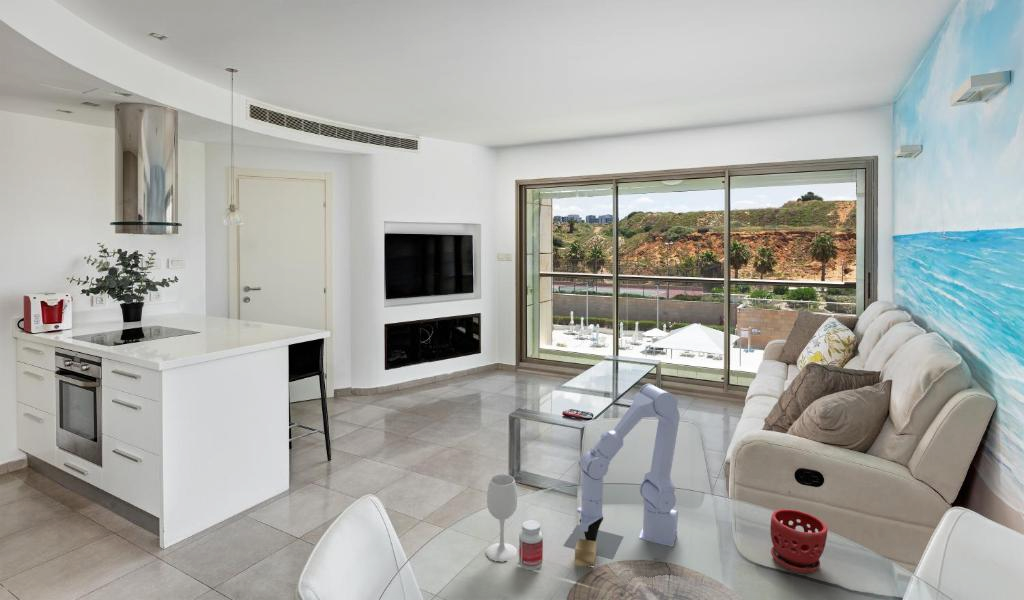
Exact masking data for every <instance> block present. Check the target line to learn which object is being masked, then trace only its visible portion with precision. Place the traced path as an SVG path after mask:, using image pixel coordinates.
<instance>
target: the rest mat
mask: <svg viewBox="0 0 1024 600" xmlns="http://www.w3.org/2000/svg"><path fill="white" fill-rule="evenodd" d="M572 532H573V533H572ZM572 532H571V533H572V534H571V533H570V535H569V536H568V538H567V540H566V541H564V544H563V545H562V547H565V548H570V549H573V550H575V547H576V544H577V540H578V539H584V540H586V538H585V533H584V531H582V530H580V524H576V526H575V527H574V528H573V530H572ZM624 538H625V537H624V535H619V534H616V533H611V532H607V531H604V530H598V534H597V538H596V556H600V557H602V558H605V559H610V560H613V559H614V557H616V556H615V555H616V553H617V551H618V549H619V547H620V545H621V544H622V541H623V540H624Z"/></svg>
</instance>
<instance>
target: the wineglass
mask: <svg viewBox="0 0 1024 600" xmlns="http://www.w3.org/2000/svg"><path fill="white" fill-rule="evenodd" d="M487 487H488V488H487V492H486V494H487V495H486V505H487V509H488V512H489V513H490V514H491V516H492V517H493V518H494V519H497V520H498V521H499V530H500V532H499V533H500V534H499V542H497V543H496V542H495V543H493V544H491V545H489V546H490V547H489V546H488V547H487V548H488V549H486V550H485V554H486V557H487V556H488V557H489V558H488V557H487V558H488V560H491V559H492V560H491V561H493V560H494V561H493V562H496V561H506V560H507V561H510V560H512V559H514V558H516V556H517V554H518V550H517V548H516V546H514V545H512V544H510V543H507V542H505V538H504V537H505V535H504V533H505V532H504V530H505V529H504V528H505V521H506V520H507V519H510V517H512V516H513V515H514V513H515V512H516V510H517V507H518V490H517V483H516V480H515V478H514V477H513V476H512V475H509V474H504V473H503V474H502V473H501V474H495V475H493V476H492V477H491V478H490V479H489V482H488V486H487Z"/></svg>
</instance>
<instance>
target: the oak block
mask: <svg viewBox="0 0 1024 600" xmlns="http://www.w3.org/2000/svg"><path fill="white" fill-rule="evenodd" d="M596 559H597V555H596V541H590V540H584V539H578V540H577V544H576V547H575V549H574V566H577V567H583V566H588V567H587V568H589V566H590V567H591V566H594V567H595V565H596V564H595V563H596ZM594 564H595V565H594Z"/></svg>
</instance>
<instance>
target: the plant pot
mask: <svg viewBox="0 0 1024 600" xmlns="http://www.w3.org/2000/svg"><path fill="white" fill-rule="evenodd" d="M797 520H799V522H798V521H797ZM781 521H782V522H781ZM790 521H791V522H792V524H790V523H789V522H790ZM808 525H809V526H808ZM797 527H801V528H802V529H803V531H801V530H797ZM816 530H817V532H816ZM809 531H810V532H809ZM828 531H829V530H828V526H827V525H826V524H825V523H824V522H823V520H821V519H819V518H818V517H816V516H814V515H812V514H809V513H807V512H803V511H800V510H795V509H789V508H786V509H785V508H783V509H777V510H774V511H773V512H772V514H771V519H770V538H771V543H772V547H771V550H770V553H771V556H772V558H773V559H774V560H775V562H776V563H778V564H779V565H781V566H782V567H784V568H785V569H787V570H788V571H793V572H797V573H800V574H801V573H804V574H809V573H813V572H816V571H817V570H818V569H819V568H820V567H821V561H820V558H821V557H822V556H823V555H822V554H823V553H824V552H825V551H824V550H825V547H826V542H827V538H828Z"/></svg>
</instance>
